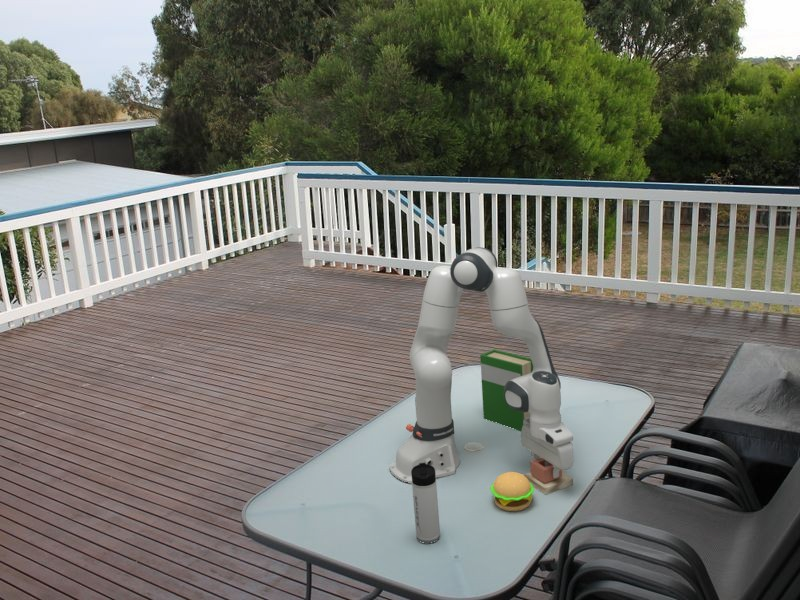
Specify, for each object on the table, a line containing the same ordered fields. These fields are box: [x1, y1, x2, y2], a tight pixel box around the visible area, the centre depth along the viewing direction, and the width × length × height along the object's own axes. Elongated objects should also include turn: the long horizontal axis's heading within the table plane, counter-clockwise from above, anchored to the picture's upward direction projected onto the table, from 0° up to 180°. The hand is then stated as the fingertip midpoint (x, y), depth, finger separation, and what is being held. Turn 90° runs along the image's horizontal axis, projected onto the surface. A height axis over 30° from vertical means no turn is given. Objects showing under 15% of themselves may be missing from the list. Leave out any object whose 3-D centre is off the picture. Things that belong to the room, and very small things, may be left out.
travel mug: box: [411, 463, 441, 544], centre depth 192 cm, size 6×7×20 cm
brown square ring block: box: [529, 458, 563, 483], centre depth 215 cm, size 6×6×4 cm
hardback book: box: [479, 349, 533, 432], centre depth 256 cm, size 18×7×24 cm, turn 42°
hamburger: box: [489, 471, 535, 512], centre depth 207 cm, size 12×12×9 cm
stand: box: [523, 461, 574, 496], centre depth 216 cm, size 10×10×6 cm
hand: (546, 471), depth 216 cm, fingers closed on brown square ring block, 6 cm apart
